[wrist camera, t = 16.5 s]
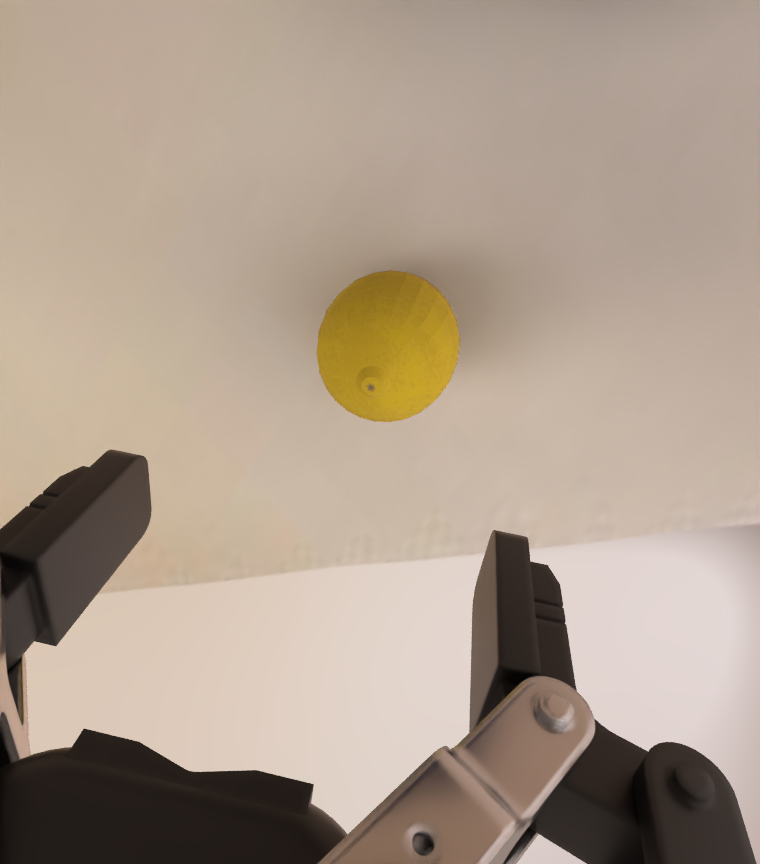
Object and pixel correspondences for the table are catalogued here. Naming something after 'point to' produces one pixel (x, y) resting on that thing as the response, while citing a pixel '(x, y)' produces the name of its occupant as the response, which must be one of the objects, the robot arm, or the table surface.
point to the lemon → (388, 346)
